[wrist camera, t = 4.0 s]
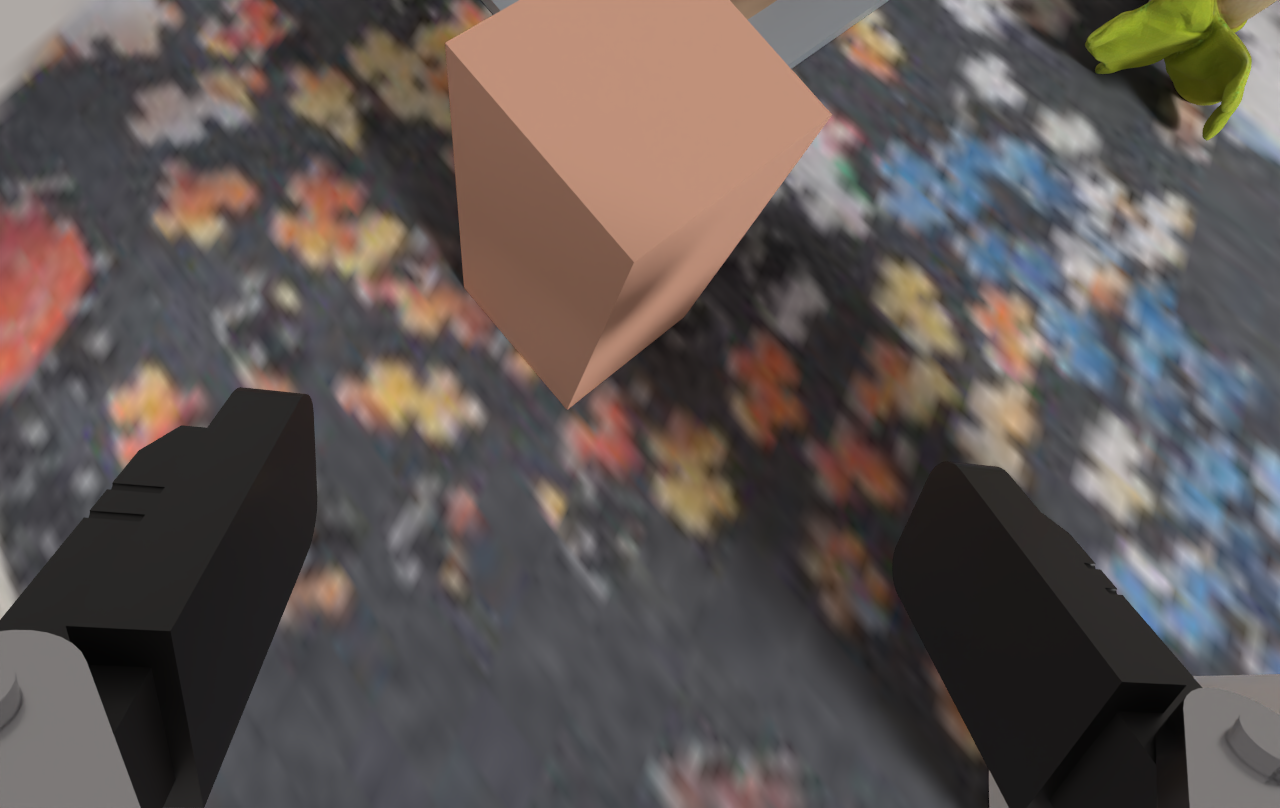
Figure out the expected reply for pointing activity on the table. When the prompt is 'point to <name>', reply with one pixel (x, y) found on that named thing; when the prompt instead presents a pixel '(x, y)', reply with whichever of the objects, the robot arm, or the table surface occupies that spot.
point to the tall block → (612, 168)
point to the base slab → (751, 6)
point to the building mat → (791, 23)
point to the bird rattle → (1184, 49)
